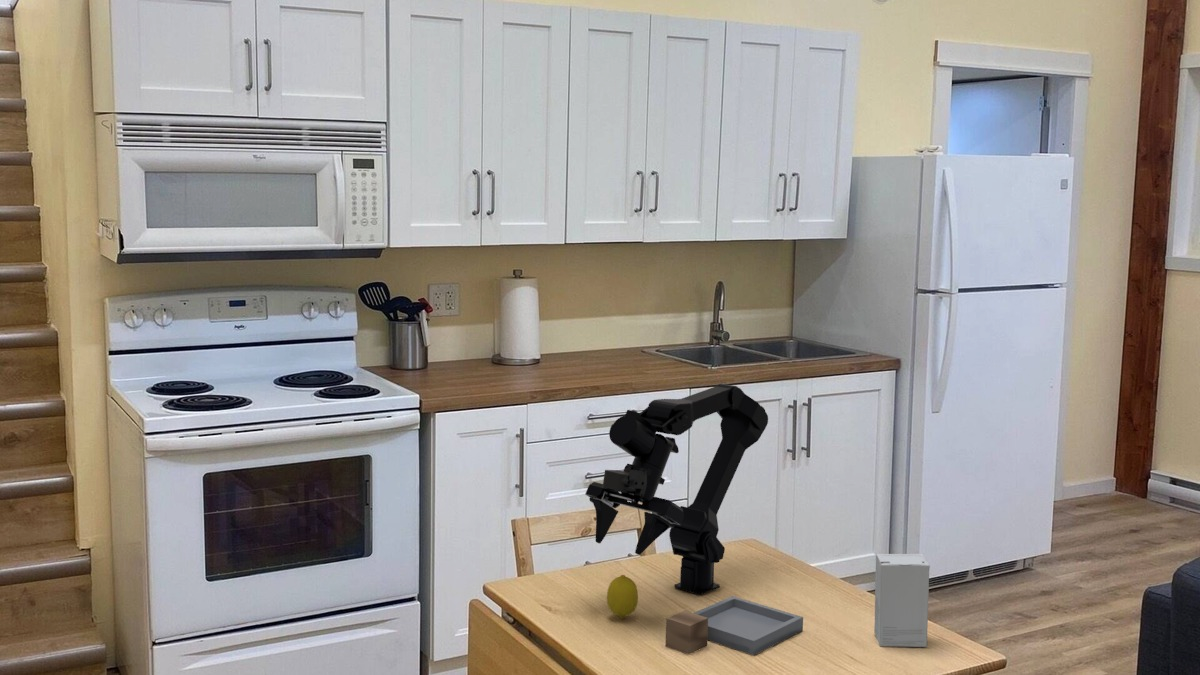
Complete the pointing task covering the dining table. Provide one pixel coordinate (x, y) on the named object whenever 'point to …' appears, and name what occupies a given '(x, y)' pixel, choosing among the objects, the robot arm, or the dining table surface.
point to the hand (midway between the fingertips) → (617, 548)
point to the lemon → (622, 596)
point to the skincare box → (901, 600)
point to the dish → (749, 625)
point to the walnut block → (686, 632)
